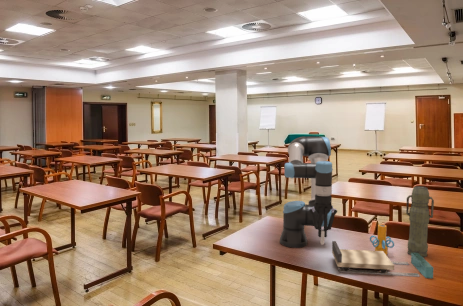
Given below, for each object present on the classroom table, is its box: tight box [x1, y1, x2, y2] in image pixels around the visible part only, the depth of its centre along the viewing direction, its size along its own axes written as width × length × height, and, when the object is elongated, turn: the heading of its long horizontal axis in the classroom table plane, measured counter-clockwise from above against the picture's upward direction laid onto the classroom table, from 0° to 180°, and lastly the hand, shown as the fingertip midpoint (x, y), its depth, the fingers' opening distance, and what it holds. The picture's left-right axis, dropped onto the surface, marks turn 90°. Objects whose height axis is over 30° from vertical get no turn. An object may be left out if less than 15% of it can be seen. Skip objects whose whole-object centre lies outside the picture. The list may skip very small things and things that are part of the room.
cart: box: [331, 240, 395, 273], centre depth 155 cm, size 24×16×8 cm, turn 82°
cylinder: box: [369, 224, 395, 257], centre depth 170 cm, size 12×10×15 cm
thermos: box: [405, 185, 435, 259], centre depth 168 cm, size 9×12×35 cm
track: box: [334, 253, 435, 279], centre depth 154 cm, size 39×16×5 cm, turn 82°
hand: (322, 243), depth 157 cm, fingers closed
